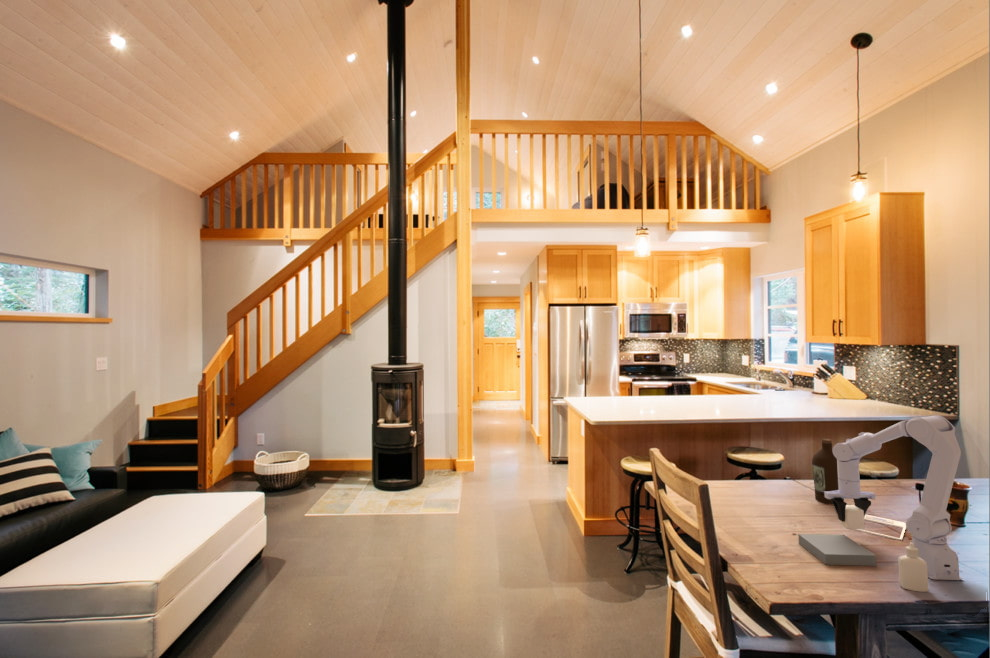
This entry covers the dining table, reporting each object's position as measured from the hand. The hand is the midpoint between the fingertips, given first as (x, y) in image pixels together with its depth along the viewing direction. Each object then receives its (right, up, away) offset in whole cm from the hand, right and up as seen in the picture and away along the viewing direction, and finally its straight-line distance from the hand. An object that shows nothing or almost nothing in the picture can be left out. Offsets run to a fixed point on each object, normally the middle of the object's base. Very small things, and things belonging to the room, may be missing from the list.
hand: (850, 520), depth 149 cm
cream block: (0, -2, 0) cm, 2 cm away
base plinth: (-12, -7, -9) cm, 16 cm away
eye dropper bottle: (-6, -6, -29) cm, 30 cm away
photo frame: (+17, -7, +10) cm, 21 cm away
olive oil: (+19, -7, +35) cm, 41 cm away
